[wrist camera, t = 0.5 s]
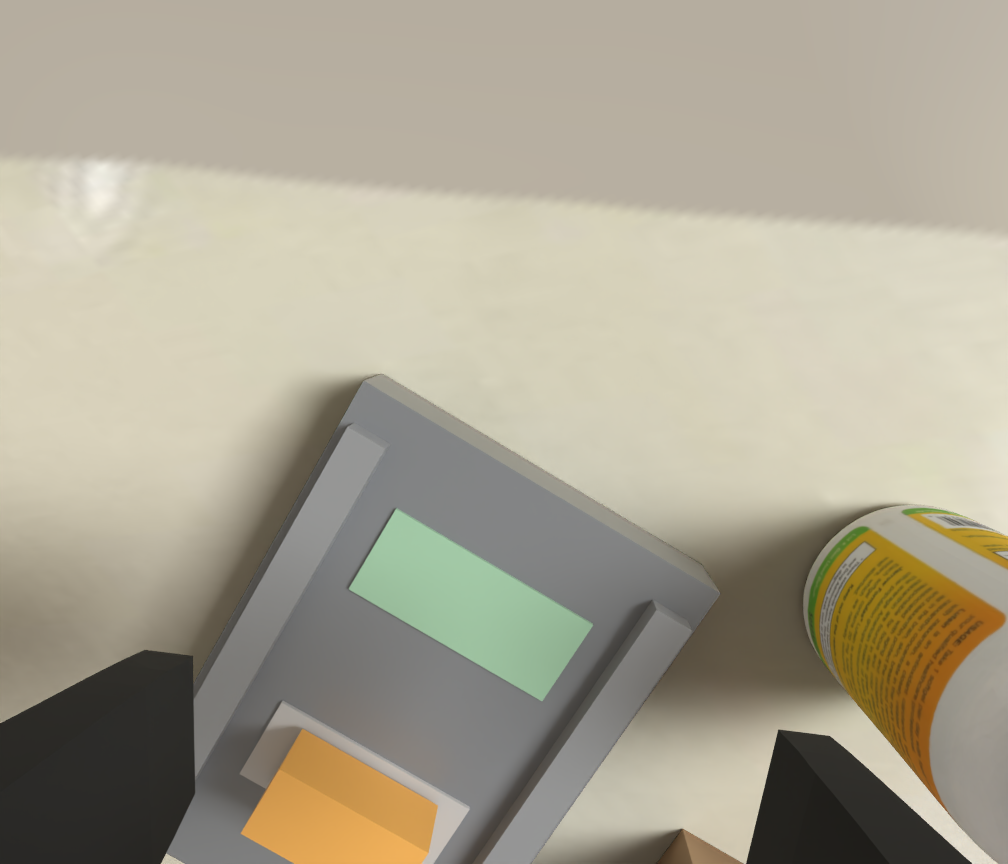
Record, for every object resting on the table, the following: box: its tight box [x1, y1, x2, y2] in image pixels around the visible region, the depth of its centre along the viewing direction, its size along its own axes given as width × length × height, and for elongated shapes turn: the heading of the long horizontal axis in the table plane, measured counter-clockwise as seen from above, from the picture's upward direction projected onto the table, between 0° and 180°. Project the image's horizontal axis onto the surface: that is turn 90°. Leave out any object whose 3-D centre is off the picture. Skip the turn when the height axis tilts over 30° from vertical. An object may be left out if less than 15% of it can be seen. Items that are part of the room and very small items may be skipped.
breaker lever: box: [241, 729, 438, 864], centre depth 17 cm, size 2×4×2 cm, turn 59°
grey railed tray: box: [166, 374, 721, 864], centre depth 18 cm, size 14×10×3 cm
